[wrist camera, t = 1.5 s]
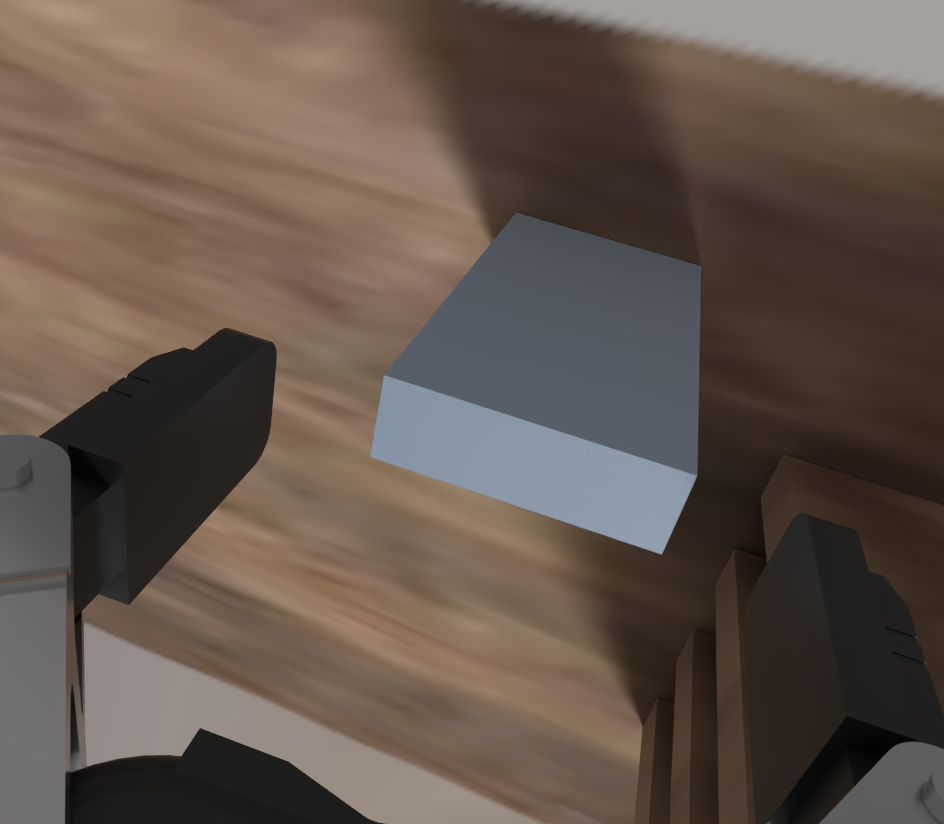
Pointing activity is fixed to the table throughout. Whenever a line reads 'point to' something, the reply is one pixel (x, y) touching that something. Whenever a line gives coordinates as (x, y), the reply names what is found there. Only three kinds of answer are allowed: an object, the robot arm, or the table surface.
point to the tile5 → (655, 766)
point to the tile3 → (734, 689)
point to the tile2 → (872, 539)
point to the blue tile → (557, 383)
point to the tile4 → (695, 734)
